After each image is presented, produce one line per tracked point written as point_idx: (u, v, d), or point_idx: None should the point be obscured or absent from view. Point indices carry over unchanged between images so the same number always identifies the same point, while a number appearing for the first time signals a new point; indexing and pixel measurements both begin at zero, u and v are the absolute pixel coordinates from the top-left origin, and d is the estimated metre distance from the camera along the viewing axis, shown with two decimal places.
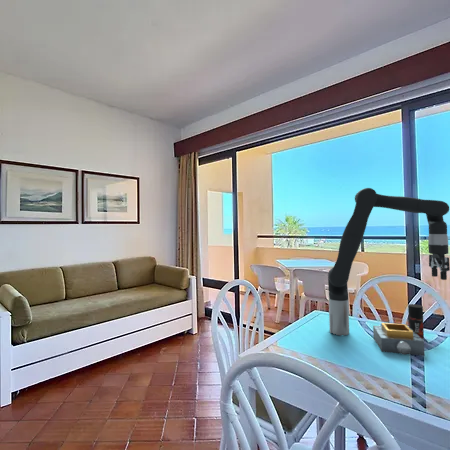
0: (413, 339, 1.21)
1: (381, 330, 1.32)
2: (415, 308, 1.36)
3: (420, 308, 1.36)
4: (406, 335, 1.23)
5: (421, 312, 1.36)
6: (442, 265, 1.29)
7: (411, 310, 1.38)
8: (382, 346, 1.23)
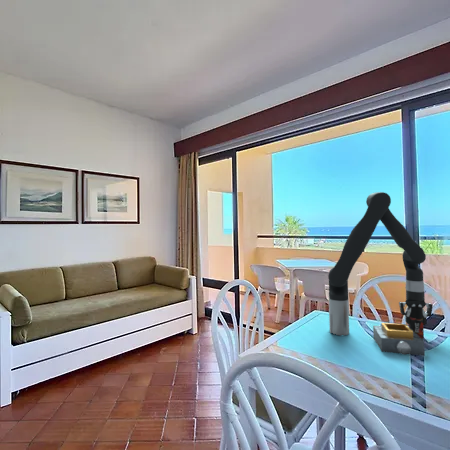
0: (413, 339, 1.21)
1: (381, 330, 1.32)
2: (415, 308, 1.36)
3: (420, 308, 1.36)
4: (406, 335, 1.23)
5: (421, 312, 1.36)
6: (430, 311, 1.36)
7: (411, 310, 1.38)
8: (382, 346, 1.23)
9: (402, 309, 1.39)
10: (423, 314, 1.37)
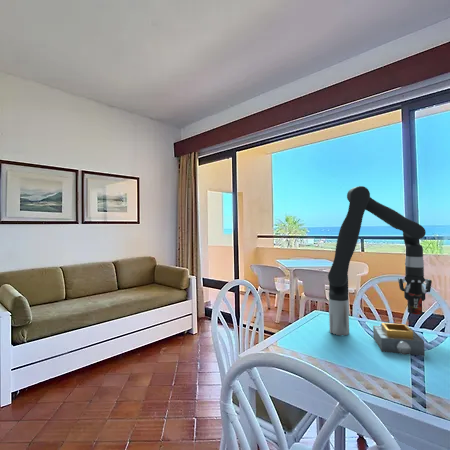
0: (413, 339, 1.21)
1: (381, 330, 1.32)
2: (414, 284, 1.37)
3: (419, 284, 1.36)
4: (406, 335, 1.23)
5: (420, 288, 1.36)
6: (429, 287, 1.36)
7: (410, 286, 1.38)
8: (382, 346, 1.23)
9: (401, 285, 1.40)
10: (422, 290, 1.37)
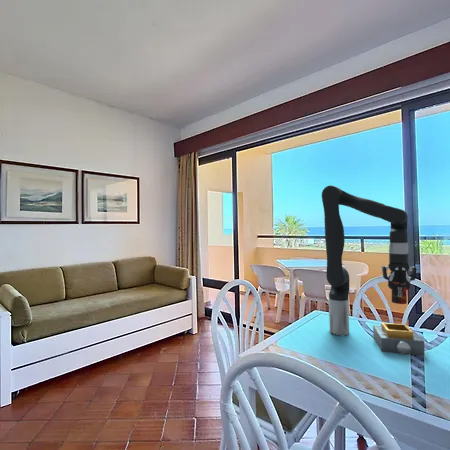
0: (413, 339, 1.21)
1: (381, 330, 1.32)
2: (398, 271, 1.29)
3: (403, 271, 1.28)
4: (406, 335, 1.23)
5: (404, 276, 1.28)
6: (413, 275, 1.28)
7: (394, 274, 1.30)
8: (382, 346, 1.23)
9: (385, 273, 1.32)
10: (406, 278, 1.29)
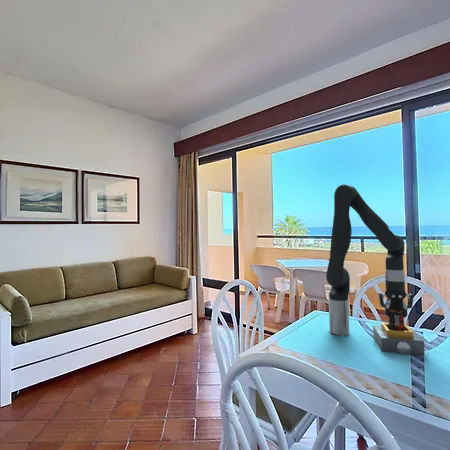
0: (413, 339, 1.21)
1: (381, 330, 1.32)
2: (395, 299, 1.26)
3: (400, 299, 1.26)
4: (406, 335, 1.23)
5: (401, 303, 1.26)
6: (410, 303, 1.26)
7: (390, 301, 1.28)
8: (382, 346, 1.23)
9: (381, 300, 1.29)
10: (403, 306, 1.27)
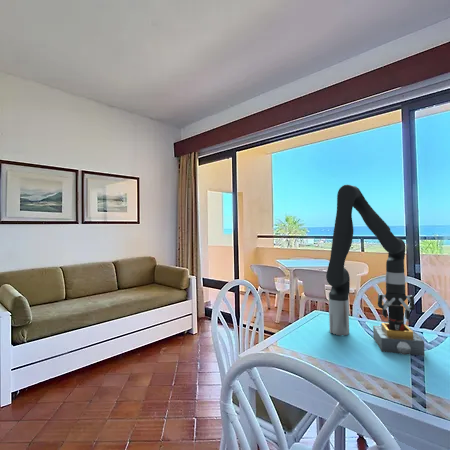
0: (413, 339, 1.21)
1: (381, 330, 1.32)
2: (395, 308, 1.26)
3: (400, 309, 1.26)
4: (406, 335, 1.23)
5: (401, 313, 1.26)
6: (412, 304, 1.26)
7: (390, 311, 1.28)
8: (382, 346, 1.23)
9: (380, 301, 1.30)
10: (406, 307, 1.27)
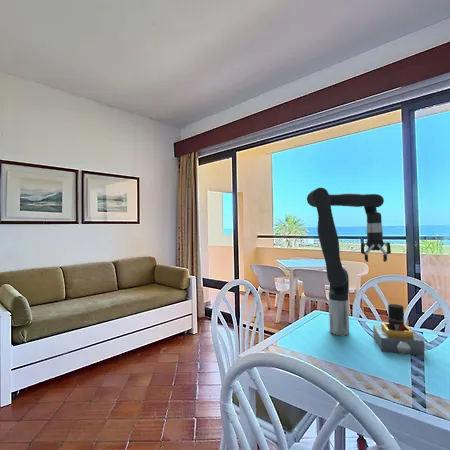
0: (413, 339, 1.21)
1: (381, 330, 1.32)
2: (395, 308, 1.26)
3: (400, 308, 1.26)
4: (406, 335, 1.23)
5: (401, 313, 1.26)
6: (389, 249, 1.51)
7: (390, 310, 1.28)
8: (382, 346, 1.23)
9: (362, 248, 1.55)
10: (384, 252, 1.52)
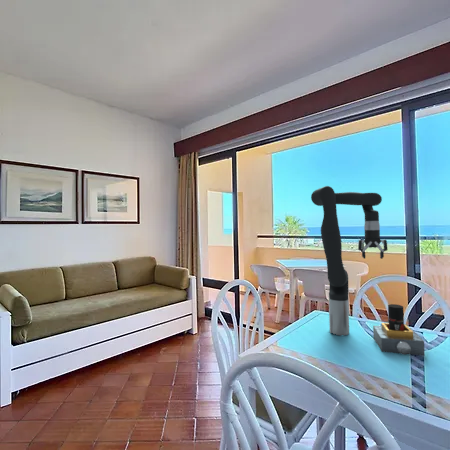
0: (413, 339, 1.21)
1: (381, 330, 1.32)
2: (395, 308, 1.26)
3: (400, 308, 1.26)
4: (406, 335, 1.23)
5: (401, 313, 1.26)
6: (385, 246, 1.56)
7: (390, 310, 1.28)
8: (382, 346, 1.23)
9: (360, 245, 1.59)
10: (380, 249, 1.56)
